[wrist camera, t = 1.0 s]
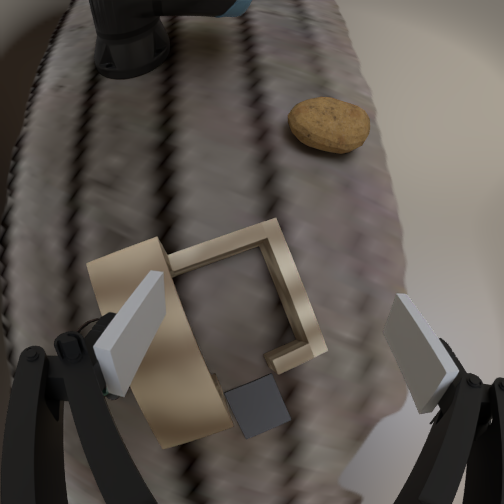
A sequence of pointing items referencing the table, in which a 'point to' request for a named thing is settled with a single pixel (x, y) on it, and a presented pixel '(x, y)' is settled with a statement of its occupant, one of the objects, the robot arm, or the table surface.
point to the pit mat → (258, 406)
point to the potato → (329, 124)
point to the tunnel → (181, 336)
